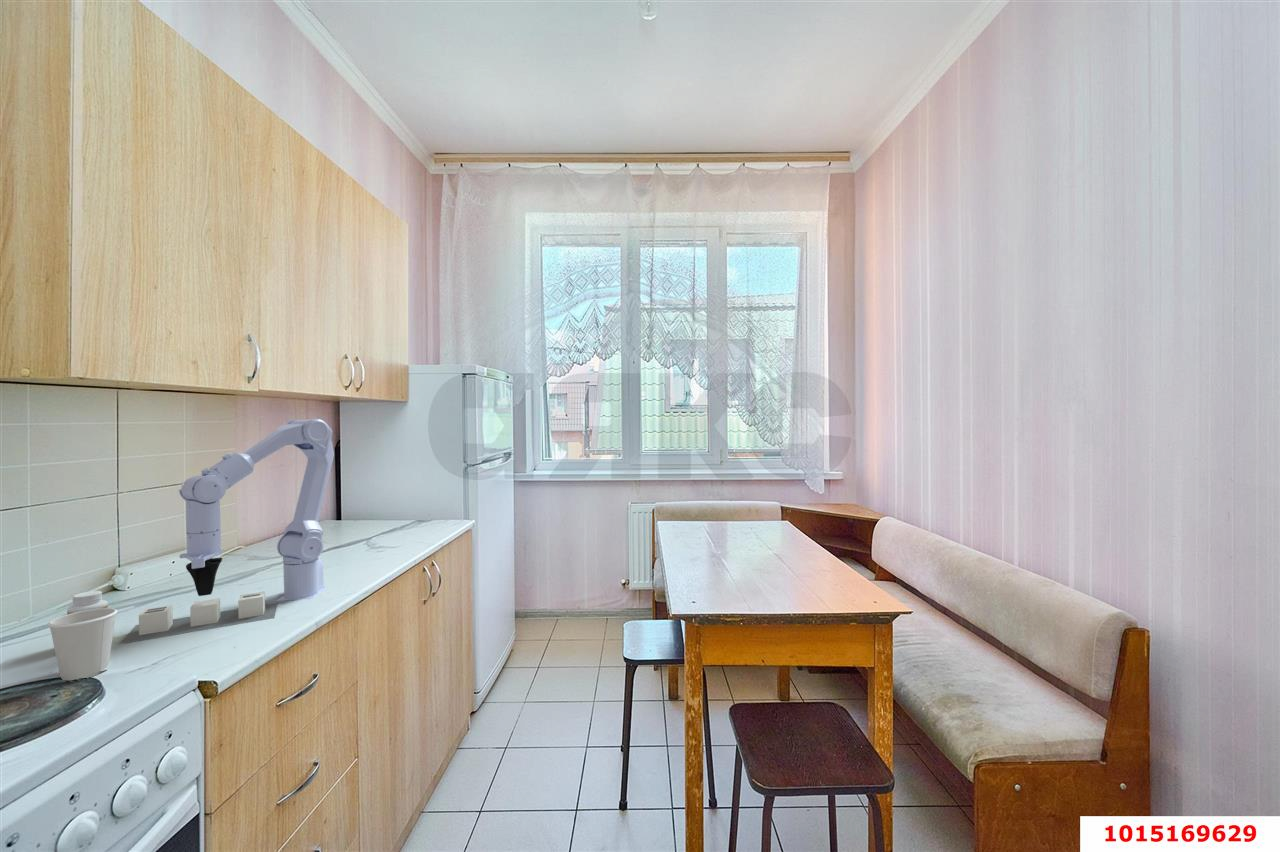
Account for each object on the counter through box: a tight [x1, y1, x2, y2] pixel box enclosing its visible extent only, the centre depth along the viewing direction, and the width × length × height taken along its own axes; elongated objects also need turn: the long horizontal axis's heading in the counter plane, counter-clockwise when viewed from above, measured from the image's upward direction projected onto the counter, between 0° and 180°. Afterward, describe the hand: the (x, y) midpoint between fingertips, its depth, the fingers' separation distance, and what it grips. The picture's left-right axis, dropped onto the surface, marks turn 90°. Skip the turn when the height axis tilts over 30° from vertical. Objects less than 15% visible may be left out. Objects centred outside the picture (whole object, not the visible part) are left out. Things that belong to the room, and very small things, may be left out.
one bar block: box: [237, 591, 266, 619], centre depth 119 cm, size 4×4×4 cm
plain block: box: [189, 598, 221, 627], centre depth 115 cm, size 4×4×4 cm
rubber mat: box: [117, 602, 279, 645], centre depth 115 cm, size 25×12×1 cm, turn 121°
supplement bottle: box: [66, 590, 109, 615], centre depth 105 cm, size 6×6×10 cm
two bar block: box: [138, 604, 174, 635], centre depth 111 cm, size 4×4×4 cm
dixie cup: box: [47, 607, 118, 681], centre depth 92 cm, size 8×8×10 cm
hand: (205, 594), depth 115 cm, fingers closed
